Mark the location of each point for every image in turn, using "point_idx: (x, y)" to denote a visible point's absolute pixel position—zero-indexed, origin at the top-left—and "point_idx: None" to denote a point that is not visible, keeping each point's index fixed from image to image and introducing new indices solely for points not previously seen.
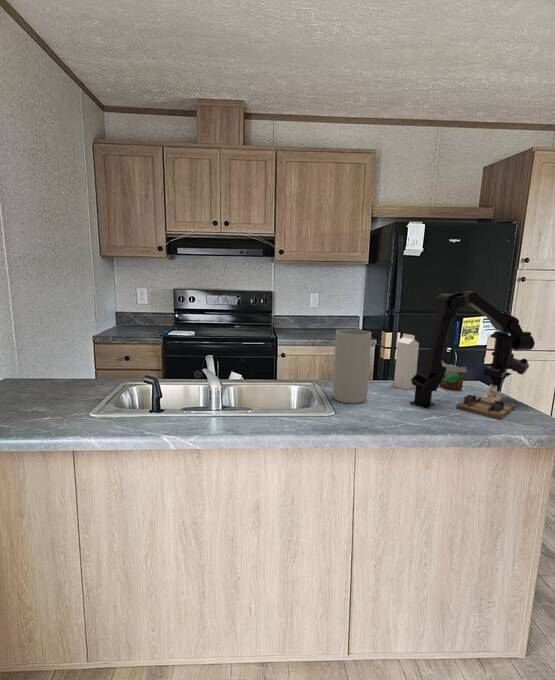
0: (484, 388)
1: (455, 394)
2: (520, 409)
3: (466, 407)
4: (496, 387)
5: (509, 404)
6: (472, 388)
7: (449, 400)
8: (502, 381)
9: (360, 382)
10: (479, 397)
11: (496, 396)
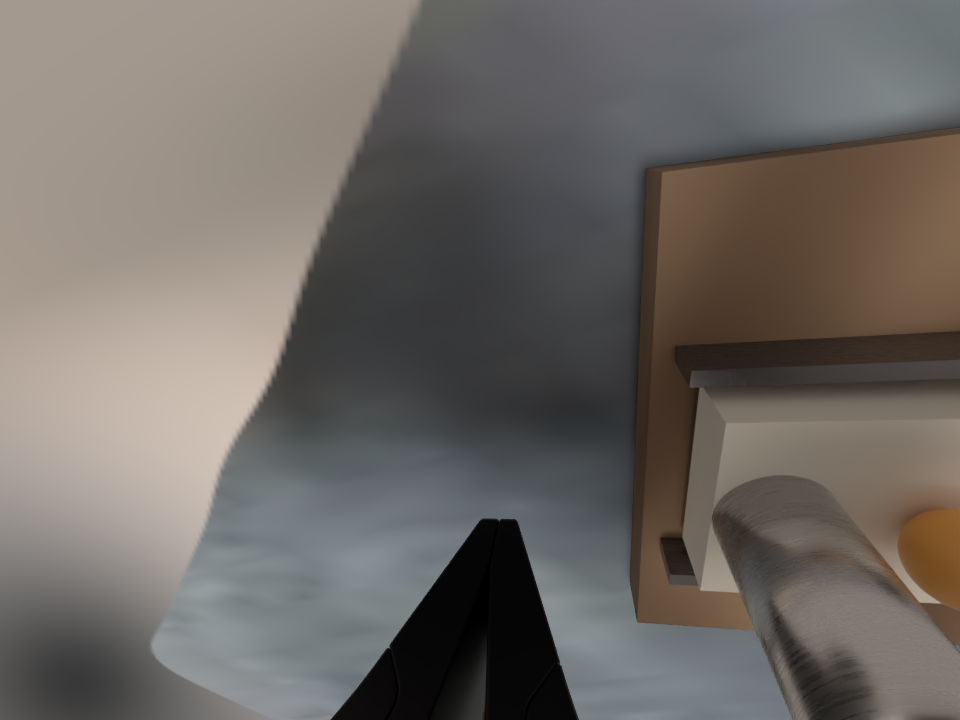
0: (221, 588)
1: (611, 680)
2: (603, 91)
3: None
4: (957, 676)
5: (731, 240)
6: (317, 637)
7: None
8: (433, 711)
9: None
10: None
11: (747, 474)
